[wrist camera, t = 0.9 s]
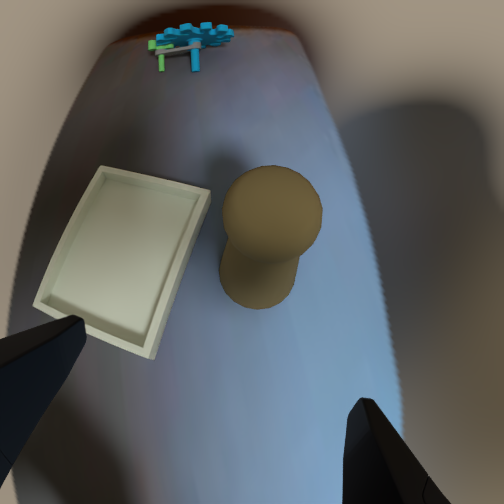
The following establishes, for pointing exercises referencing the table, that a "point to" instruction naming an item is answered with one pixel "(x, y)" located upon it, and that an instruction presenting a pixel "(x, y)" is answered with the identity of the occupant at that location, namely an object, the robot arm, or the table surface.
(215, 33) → the gear
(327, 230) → the table surface
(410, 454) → the robot arm
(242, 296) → the cork
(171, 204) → the tray
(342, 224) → the table surface
